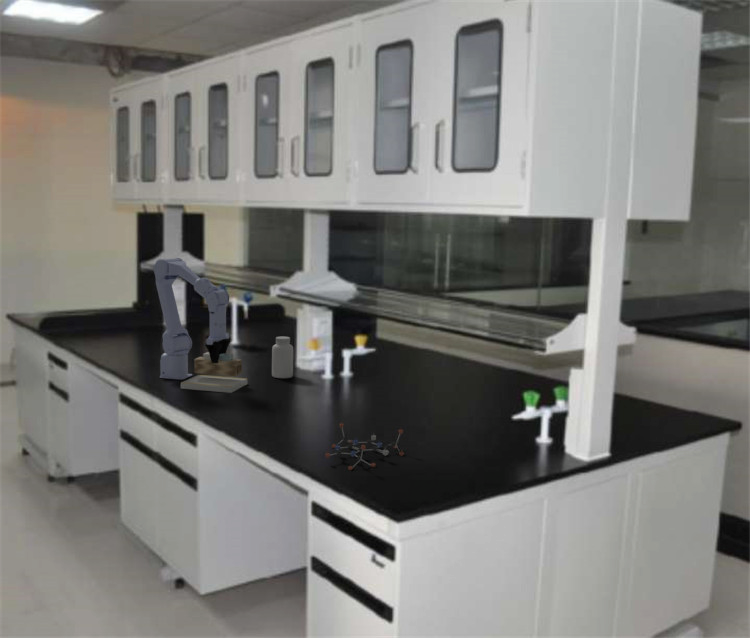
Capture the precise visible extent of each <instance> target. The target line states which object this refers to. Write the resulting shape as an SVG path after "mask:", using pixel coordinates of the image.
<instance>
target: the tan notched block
mask: <svg viewBox="0 0 750 638" xmlns="http://www.w3.org/2000/svg"><path fill="white" fill-rule="evenodd" d="M193 361H194V363H193V364H194V368H193V369H194V374H200V375H213V376H226V377H237V376H240V375H242V374H243V369H242V368H243V366H242V365H243V360H242V359H235V358H233V360H231V361H219V360H218V363H212V362H211V360H205V359H203V356H198V357H196V358H194V360H193Z"/></svg>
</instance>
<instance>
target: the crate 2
mask: <svg viewBox="0 0 750 638" xmlns="http://www.w3.org/2000/svg"><path fill="white" fill-rule="evenodd" d="M233 359H234V353H227V352H226V353H223V354H220V355H219V361H231V360H233Z"/></svg>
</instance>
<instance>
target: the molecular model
mask: <svg viewBox="0 0 750 638" xmlns="http://www.w3.org/2000/svg"><path fill="white" fill-rule="evenodd" d="M339 428H341V431H342V436H343V437H342V440H341V441H340V442H336V443H337V444H335V443H332V444H331V448H332V449H335V451H336V452H335V453H330V452H329V450H326V453H325V458H330V456H333V455H337V456H341V455H342V454H343V455H344V454H345V455H351V457H356V458H357V460H358V461H357V462H356V463H355V464H354V465H351V464H350V465H349V466H348V467H347V469H348V470H349V471H352V470H353V468H354V467H355V466H357V464H358V463H359V462H360V461H362V462H364V463H366V464H367V465H369V466H370V467H371V468H376V463H375V462H371V463H368V462H367V461H365V460H364V459H363V453H364V451H372V452H379V453H381V454H382V455H383V456H387V455H389V452H390V451H389V450H388V449H386V446H385V447H384V449H383V450H381V448H382V446H383V443H382V442H381V440H380V439H379V440H378V442H376V443H375V442H373V441H376V440H377V435H375V433H373V434H371V437H370V436H369V438H368V439H367V440H366V441H359V440H358V439H357V436H356V437H354V439H353V440H352V439H350V438H349V436H348V435H345V433H344V423H342V421H341V422H340V423H339ZM397 431H398V437H397V440H396V441H395V440H394V439H392V441H391V442H390V444H389V446H391V447H392V448H393V449H397V450H398V452H399V453H398V455H399V456H404V452H403V450H402V449H401V451H400V449H399V448H398V445H397V444H398V443H399V439H400V437H401V434H403V433H404V430H403V429H402V427H400V429H398V430H397ZM343 441H344V442H348V443H349V444H348V446H343V447H341V445H339V444H340V443H341V442H343ZM358 444H360V446H359V447H356V446H357V445H358ZM364 444H365V445H364ZM366 444H368V445H370V444H372V445H374V446H372V448H370V449H369V448H368V449H366ZM379 448H380V449H379ZM342 449H353V450H352V451H350V452H343V450H342ZM357 453H358V454H359V455H357Z"/></svg>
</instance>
